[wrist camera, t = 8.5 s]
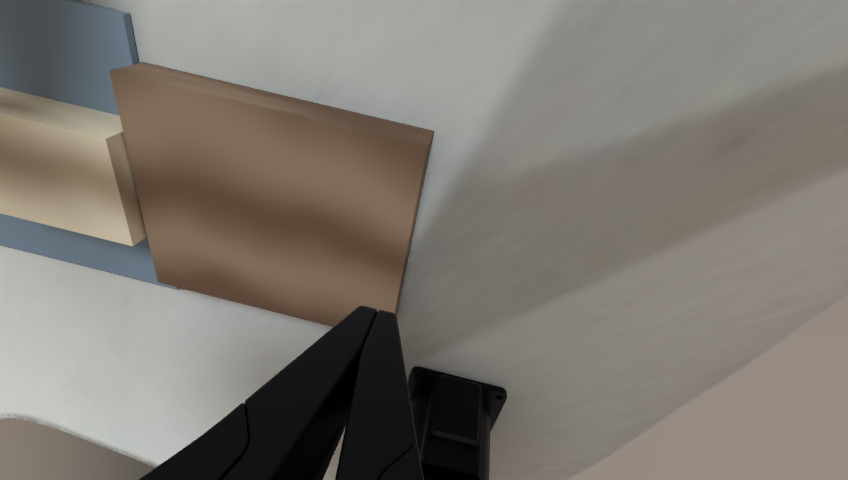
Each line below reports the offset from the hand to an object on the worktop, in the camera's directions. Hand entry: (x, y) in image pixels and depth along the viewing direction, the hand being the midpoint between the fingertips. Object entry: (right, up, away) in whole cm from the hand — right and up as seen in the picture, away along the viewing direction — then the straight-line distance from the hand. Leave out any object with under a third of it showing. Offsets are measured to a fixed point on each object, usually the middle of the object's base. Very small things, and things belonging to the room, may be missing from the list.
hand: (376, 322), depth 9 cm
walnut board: (-6, +4, +13) cm, 15 cm away
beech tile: (-17, +6, +12) cm, 22 cm away
